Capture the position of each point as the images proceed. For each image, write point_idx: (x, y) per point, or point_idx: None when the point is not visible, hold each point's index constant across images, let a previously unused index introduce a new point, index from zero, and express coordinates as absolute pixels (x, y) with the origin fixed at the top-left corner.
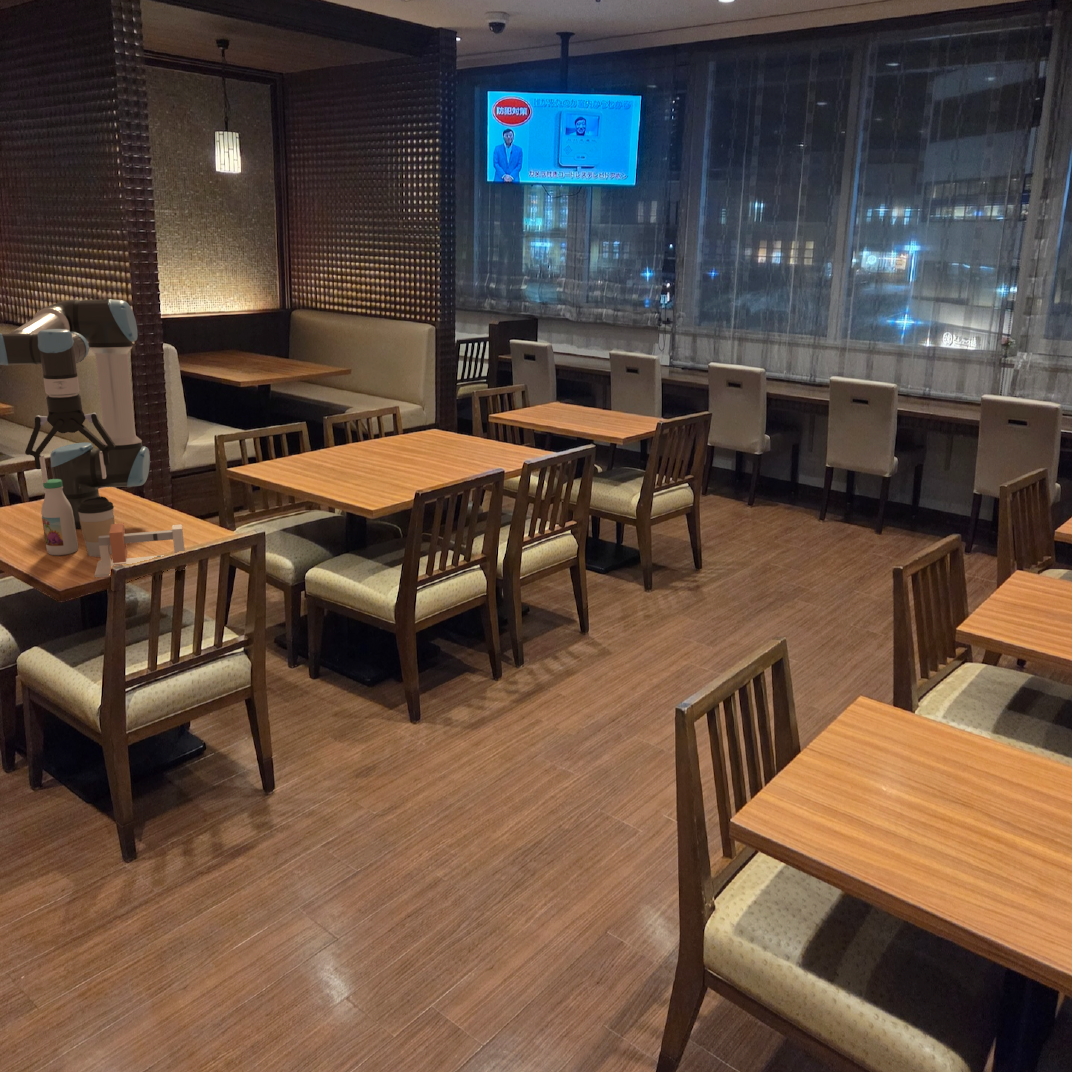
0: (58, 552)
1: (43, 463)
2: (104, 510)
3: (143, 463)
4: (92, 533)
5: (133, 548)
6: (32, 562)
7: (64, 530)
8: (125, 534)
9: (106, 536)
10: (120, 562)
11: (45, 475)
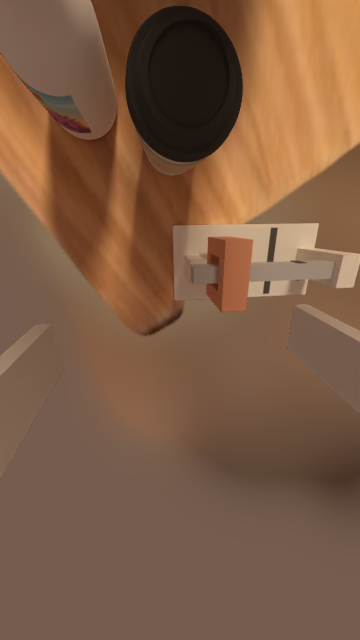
0: (82, 138)
1: (15, 448)
2: (214, 149)
3: None
4: (166, 168)
5: (231, 134)
6: (39, 172)
7: (89, 113)
8: None
9: (209, 275)
10: None
11: (50, 390)
